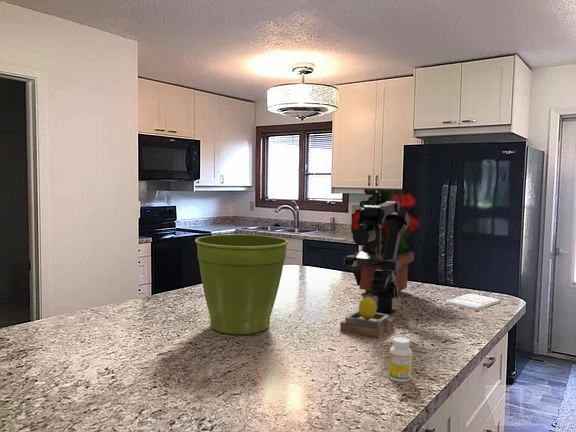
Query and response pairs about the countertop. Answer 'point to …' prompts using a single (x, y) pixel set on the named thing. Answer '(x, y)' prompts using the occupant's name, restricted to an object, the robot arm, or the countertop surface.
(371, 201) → the potted plant
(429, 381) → the countertop surface
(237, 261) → the plant pot
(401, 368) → the supplement bottle
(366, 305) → the lemon
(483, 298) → the calculator
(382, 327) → the display plinth
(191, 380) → the countertop surface
